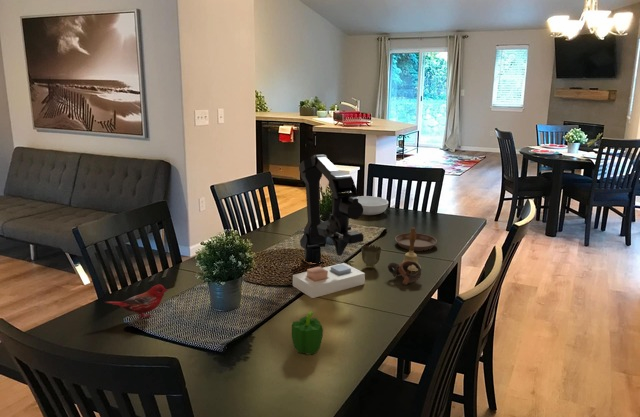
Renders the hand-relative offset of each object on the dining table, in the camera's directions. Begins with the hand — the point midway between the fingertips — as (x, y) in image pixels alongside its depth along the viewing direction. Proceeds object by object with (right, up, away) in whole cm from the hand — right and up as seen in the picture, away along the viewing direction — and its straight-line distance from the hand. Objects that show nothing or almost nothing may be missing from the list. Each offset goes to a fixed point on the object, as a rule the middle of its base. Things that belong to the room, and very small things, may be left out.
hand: (339, 255), depth 176 cm
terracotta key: (-8, -7, -3) cm, 11 cm away
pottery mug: (+23, -10, +6) cm, 26 cm away
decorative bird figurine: (-60, -16, -26) cm, 68 cm away
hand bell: (+28, -6, +18) cm, 34 cm away
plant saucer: (+35, 0, +44) cm, 56 cm away
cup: (+12, -6, +17) cm, 22 cm away
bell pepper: (-10, -21, -42) cm, 48 cm away
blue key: (+1, -7, +2) cm, 8 cm away
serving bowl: (+19, +14, +95) cm, 97 cm away
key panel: (-4, -10, 0) cm, 11 cm away
